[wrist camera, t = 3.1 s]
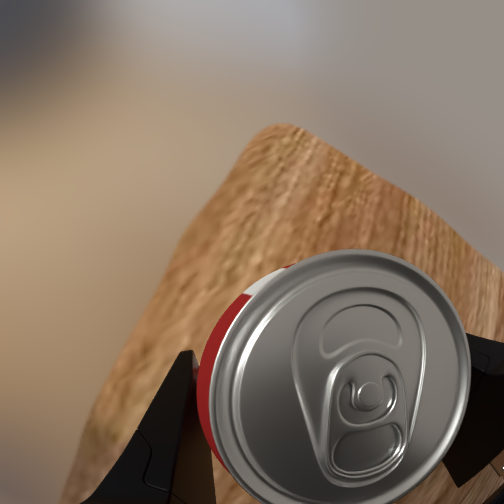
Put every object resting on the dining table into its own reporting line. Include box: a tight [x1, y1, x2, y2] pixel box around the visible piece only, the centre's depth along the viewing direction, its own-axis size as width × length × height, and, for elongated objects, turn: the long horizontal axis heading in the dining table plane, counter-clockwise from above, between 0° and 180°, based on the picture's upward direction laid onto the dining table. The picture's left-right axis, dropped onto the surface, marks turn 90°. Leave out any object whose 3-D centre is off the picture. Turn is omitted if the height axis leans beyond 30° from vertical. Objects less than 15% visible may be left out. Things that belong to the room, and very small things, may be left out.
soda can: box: [197, 249, 471, 504], centre depth 9 cm, size 5×5×12 cm
